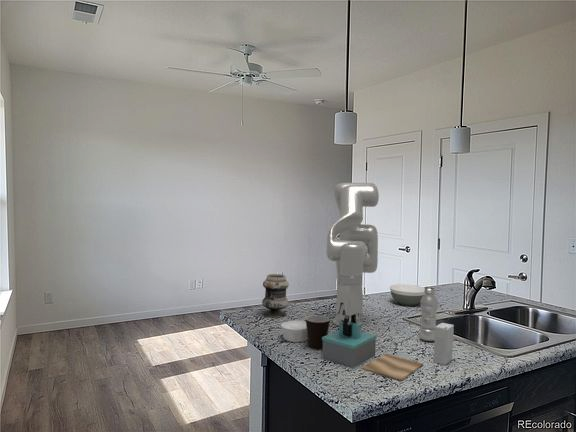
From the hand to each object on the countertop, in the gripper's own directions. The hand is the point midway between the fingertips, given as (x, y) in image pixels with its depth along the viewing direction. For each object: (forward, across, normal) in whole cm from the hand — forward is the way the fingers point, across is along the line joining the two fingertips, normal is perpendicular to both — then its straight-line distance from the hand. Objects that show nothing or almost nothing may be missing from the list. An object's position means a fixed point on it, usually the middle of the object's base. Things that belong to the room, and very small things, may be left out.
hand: (349, 334), depth 139 cm
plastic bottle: (+8, -35, +13) cm, 38 cm away
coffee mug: (+8, -2, -14) cm, 16 cm away
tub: (+8, 0, 0) cm, 8 cm away
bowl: (+8, -83, -17) cm, 85 cm away
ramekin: (+8, -2, -25) cm, 26 cm away
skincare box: (+8, -18, +25) cm, 32 cm away
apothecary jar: (+8, -20, -52) cm, 56 cm away
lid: (+2, 0, 0) cm, 2 cm away
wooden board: (+8, -2, +15) cm, 17 cm away
